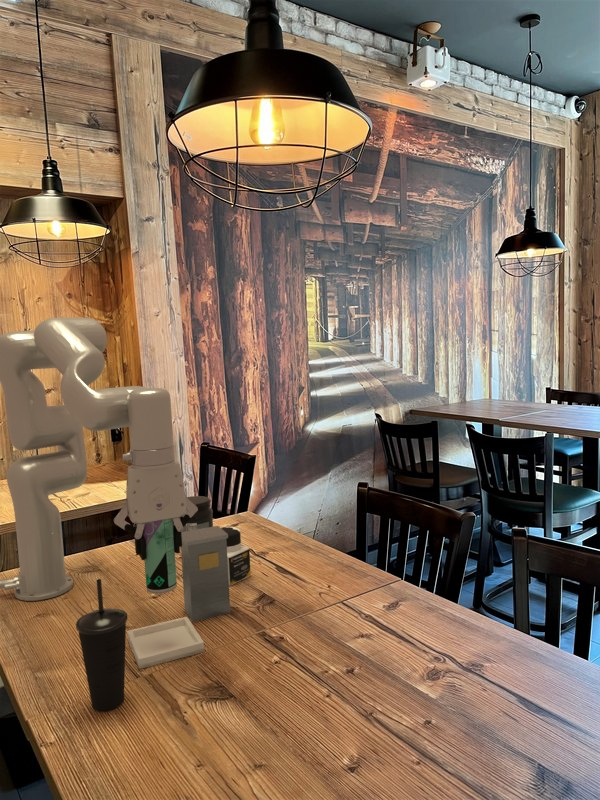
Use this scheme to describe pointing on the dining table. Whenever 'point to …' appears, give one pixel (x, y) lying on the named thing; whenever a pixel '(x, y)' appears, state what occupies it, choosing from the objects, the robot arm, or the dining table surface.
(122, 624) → the drinking cup
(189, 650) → the dish
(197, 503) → the supplement container
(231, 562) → the medicine bottle
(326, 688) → the dining table surface
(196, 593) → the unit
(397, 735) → the dining table surface
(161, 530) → the spray can
